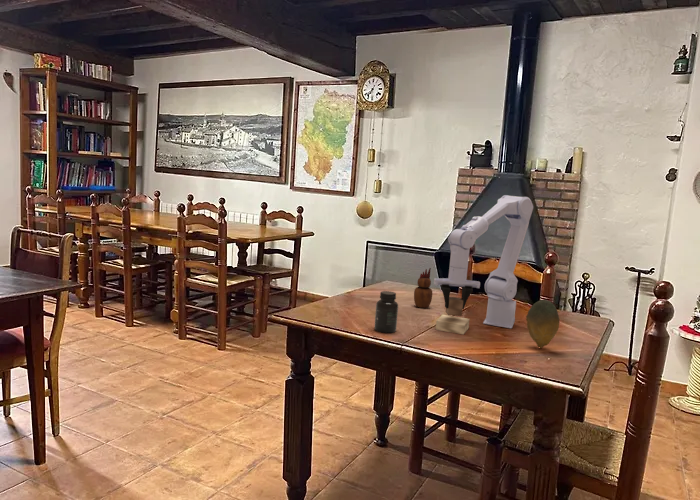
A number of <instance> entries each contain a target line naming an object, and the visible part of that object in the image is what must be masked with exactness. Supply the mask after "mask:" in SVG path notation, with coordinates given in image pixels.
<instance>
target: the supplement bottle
mask: <svg viewBox="0 0 700 500" xmlns="http://www.w3.org/2000/svg"><path fill="white" fill-rule="evenodd" d="M396 299H397V293H396V292H394V291H389V290H383V291H380V295H379V299H378V300H377V301H376V304H375V314H374V315H375V317H374V330H375V331H376V332H378V333H382V334H383V333H384V334H392V333H395V332H396V331H397V327H398V326H397V323H398V314H399V313H398V312H399V303H398V302H397V300H396Z"/></svg>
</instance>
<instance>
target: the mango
mask: <svg viewBox="0 0 700 500" xmlns="http://www.w3.org/2000/svg"><path fill="white" fill-rule="evenodd" d="M525 317H526V318H525V319H526V327H527V330H528V334H529V337H531V340H533V342H535V344H536V345H537V347H540V348H542V349H543V348H544V347H545V346H548V345H549V344H550V342H551V341H552V340H553V339H554V337H555V336H556V334H557V333H558V331H559V327H560V322H561V321H560V316H559V312H558V309H557V307H556V306H555V304H554V303H553V302H552V301H550V300H547V299H540V300H537V301H535V303H533V304H532V306H530V308H529V309H528V312H527V315H526V316H525Z"/></svg>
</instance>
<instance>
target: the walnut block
mask: <svg viewBox="0 0 700 500" xmlns="http://www.w3.org/2000/svg"><path fill="white" fill-rule="evenodd" d="M461 298H462V297H457V296H455V297H454V296H449V306H448V308H446V307H445V313H446V315H449V316H455V317H459V316H460V317H463V310H464V309H463V300H462V299H461Z"/></svg>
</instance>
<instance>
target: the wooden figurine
mask: <svg viewBox="0 0 700 500" xmlns="http://www.w3.org/2000/svg"><path fill="white" fill-rule="evenodd" d="M431 269H432V268H431V267H429V269H427V268H425V271H422V273H420V276H419V277H418V279H417V287H415V289H414V291H413V300H414V304H415V306H416V307H418V308H420V309H427V308H429V307H430V305H431V302H432V301H433V300H432V299H433V290H432V288H431V285H432V280H431V278H430V277H431Z"/></svg>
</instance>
